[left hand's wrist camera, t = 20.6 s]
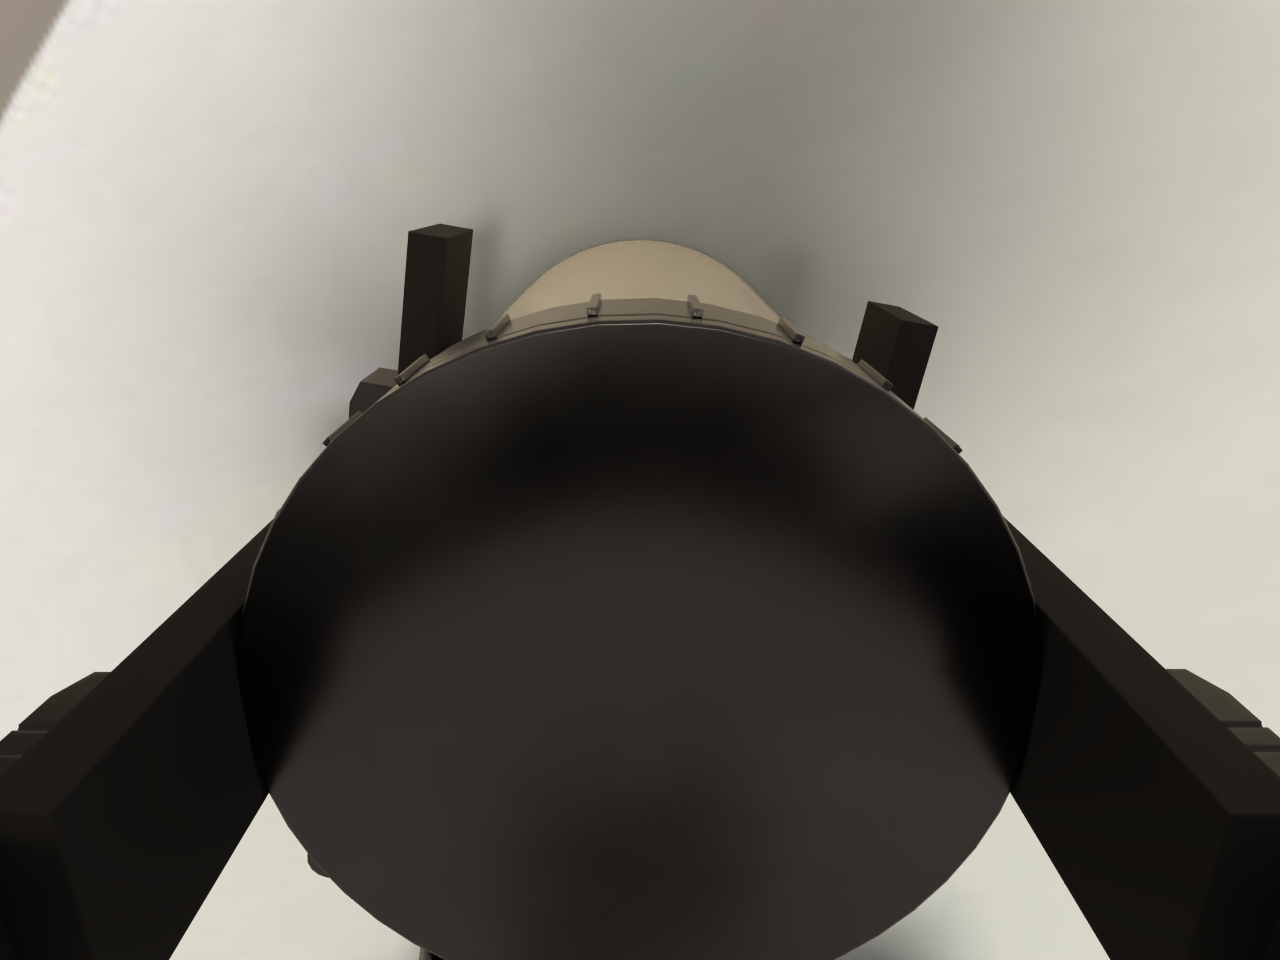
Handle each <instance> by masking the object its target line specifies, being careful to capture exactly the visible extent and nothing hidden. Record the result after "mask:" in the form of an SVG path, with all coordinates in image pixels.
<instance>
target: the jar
mask: <svg viewBox="0 0 1280 960" xmlns="http://www.w3.org/2000/svg"><path fill="white" fill-rule="evenodd" d="M598 293H601V298H602V299H638V298H660V299H669V300H679V301H687V299H688V295H689V294H690V295H696V296H697V298H698V300H699V302H700V303H706V304H712V305H716V306H720V307H724V308H728V309H732V310H736V311H740V312H744V313H748V314H752V315H756V316H760V317H763V318H765V319H768V320H770V321H773V322H775V323H778V321H779V319H780V317H779V316H778V315H777V314H776V313H775V312H774V311H773V310H772V309H771V308H770V307H769V306H768V305H767V304H766V303H765V302H764V301H763V300H762V299H761V298H760V297H759V296H758V294H757V293H756V292H755V291H754V290H753V289H752V288H751V287H749V286H748V285H747V284H746V283H745V282H744V281H743V280H742V279H741V278H740V277H739V276H738V275H737V274H735V273H734V272H733V271H731V270H730V269H728V268H727V267H726V266H724V265H723V264H722V263H720V262H718V261H716V260H714V259H712V258H710V257H709V256H707V255H705V254H703V253H700V252H697V251H695V250H692V249H689V248H687V247H684V246H680V245H675V244H671V243H666V242H660V241H648V240H633V241H619V242H614V243H609V244H603V245H599V246H596V247H593V248H590V249H587V250H584V251H581V252H579V253H577V254H575V255H573V256H571V257H569V258H567V259H565V260H563V261H561V262H560V263H558V264H557V265H555V266H554V267H553V268H551V269H550V270H548V271H547V272H545V273H544V274H543V275H542V276H541V277H540V278H539V279H537V280H536V281H535V282H534V283H533V284H532V285H531V286H530V287H529V288H528V289H527V290H526V291H525V292H524V293H523V294H522V295H521V296H520V297H519V298H518V299H517V300H516V301H515V302H514V303H513V304H512V305H511V306H510V307H509V308H508V309H507V310H506V311H505V312H504V313H503V314H502V315H505V314H508V315H509V317H510V320H512V319H515V318H518V317H522V316H525V315H528V314H532V313H535V312H538V311H542V310H545V309H548V308H552V307H558V306H565V305H571V304H577V303H583V302H590V299H591V297H592V294H598ZM502 315H501V316H502Z"/></svg>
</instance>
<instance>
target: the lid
mask: <svg viewBox="0 0 1280 960" xmlns="http://www.w3.org/2000/svg"><path fill="white" fill-rule="evenodd" d="M394 381H395V382H396V383H397V385H396V386H394V387H393V388H392V389H391V390H390V391H389V392H387V393H386V394H385V395H384V396H383V397H382V398H380V399H379V400H378V401H377V402H376V403H375V404H373V405H372V406H371V407H370V408H369V409H368V410H367V411H365V412H364V413H362V412H360V411H358V412H357V413H356V414H355V415H353V416H352V417H351V418H350V419H349V420H348V421H346V422H345V423H344V424H343V425H342V426H340V427H339V428H338V429H337V430H336V431H334V432H333V433H332V434H331V435H330V436H329V437H327V439H326V440H325V441H324V442H323V444H324V445H325V446H327V447H326V448H325V450H324V451H323V452H322V453H321V454H320V455H319V457H318V458H317V459H316V460H315V461H314V462H313V464H312V465H311V466H310V467H309V468H308V469H307V470H306V472H305V473H304V474H303V475H302V476H301V477H300V479H299V480H298V482H297V483H296V485H295V487H294V488H293V490H292V491H291V493H290V495H289V496H288V498H287V499H286V501H285V503H284V504H283V506H282V507H281V509H279V510H278V511H277V513H276V515H275V519H274V520H273V522H272V524H271V526H270V529H269V531H268V533H267V536H266V538H265V541H264V543H263V545H262V548H261V550H260V552H259V555H258V557H257V559H256V562H255V564H254V566H253V570H252V574H251V578H250V582H249V586H248V590H247V594H246V598H245V602H244V606H243V610H242V618H241V630H240V642H239V653H238V667H239V681H240V692H241V698H242V704H243V709H244V714H245V718H246V723H247V728H248V733H249V738H250V743H251V748H252V752H253V754H254V757H255V759H256V762H257V764H258V767H259V770H260V772H261V775H262V777H263V780H264V782H265V785H266V788H267V790H268V791H269V793H270V795H271V797H272V799H273V800H274V802H275V804H276V806H277V808H278V809H279V811H280V813H281V815H282V817H283V818H284V820H285V822H286V824H287V826H288V827H289V828H290V830H291V831H292V832H293V834H294V835H295V836H296V838H297V839H298V840H299V842H300V843H301V844H302V846H303V847H304V849H305V850H306V851H307V853H308V854H309V855H310V857H311V858H312V859H313V861H314V862H315V863H316V864H317V865H318V866H319V867H320V868H321V869H322V870H323V871H324V872H325V873H326V874H327V875H328V876H329V877H330V878H331V879H332V880H333V882H334V883H335V884H336V885H337V886H338V887H339V888H340V889H341V890H342V891H343V892H344V893H345V894H346V895H348V896H349V897H350V898H351V899H353V900H354V901H355V902H356V903H357V904H359V905H360V906H361V907H362V908H364V909H365V910H366V911H367V912H368V913H370V914H371V915H372V916H373V917H374V918H376V919H377V920H378V921H380V922H381V923H383V924H384V925H386V926H387V927H389V928H391V929H392V930H394V931H395V932H397V933H398V934H400V935H401V936H403V937H404V938H406V939H407V940H409V941H411V942H412V943H414V944H415V945H417V946H419V947H421V948H423V949H425V950H427V951H429V952H431V953H433V954H435V955H437V956H439V957H441V958H443V959H445V960H834V959H837V958H839V957H841V956H843V955H845V954H847V953H848V952H850V951H852V950H854V949H855V948H857V947H859V946H861V945H863V944H864V943H866V942H868V941H870V940H872V939H873V938H875V937H877V936H879V935H880V934H882V933H883V932H884V931H886V930H887V929H889V928H890V927H891V926H893V925H894V924H896V923H897V922H899V921H900V920H901V919H903V918H904V917H906V916H907V915H908V914H910V913H911V912H913V911H914V910H915V909H916V908H917V907H919V906H920V905H921V904H922V903H923V902H924V901H925V900H926V899H927V898H929V897H930V896H931V895H932V894H933V893H934V892H935V891H936V890H937V889H939V888H940V887H941V886H942V885H943V884H944V883H945V882H946V881H947V880H948V879H949V878H950V877H951V876H952V875H953V873H954V872H955V871H956V870H957V869H958V868H959V867H960V865H961V864H962V863H963V862H964V861H965V860H966V859H967V857H968V856H969V855H970V854H971V853H972V852H973V851H974V850H975V848H976V847H977V845H978V844H979V842H980V841H981V839H982V838H983V836H984V835H985V833H986V832H987V830H988V829H989V827H990V826H991V825H992V823H993V822H994V820H995V819H996V817H997V816H998V814H999V813H1000V811H1001V809H1002V807H1003V805H1004V803H1005V800H1006V798H1007V796H1008V794H1009V792H1010V790H1011V788H1012V786H1013V784H1014V782H1015V780H1016V778H1017V776H1018V774H1019V771H1020V768H1021V765H1022V762H1023V759H1024V756H1025V753H1026V750H1027V747H1028V744H1029V740H1030V735H1031V731H1032V725H1033V720H1034V715H1035V710H1036V704H1037V699H1038V694H1039V689H1040V636H1039V629H1038V622H1037V615H1036V608H1035V601H1034V595H1033V592H1032V589H1031V585H1030V582H1029V579H1028V576H1027V573H1026V569H1025V566H1024V563H1023V560H1022V556H1021V553H1020V550H1019V548H1018V546H1017V544H1016V542H1015V540H1014V538H1013V536H1012V534H1011V532H1010V530H1009V528H1008V524H1007V522H1006V520H1005V519H1004V518H1003V516H1002V514H1001V512H1000V510H999V508H998V506H997V504H996V503H995V501H994V500H993V499H992V497H991V496H990V494H989V493H988V492H987V490H986V489H985V487H984V486H983V484H982V483H981V482H980V480H979V479H978V477H977V476H976V475H975V473H974V472H973V470H972V469H971V468H970V466H969V465H968V463H967V462H966V461H965V460H964V459H963V458H962V457H961V456H960V455H959V453H960V452H961V451H962V449H961V448H960V447H959V445H958V444H956V443H955V442H954V441H953V440H952V439H951V438H949V437H948V436H947V435H946V434H945V433H944V432H942V431H941V430H940V429H939V428H938V427H936V426H935V425H934V424H933V423H932V422H931V421H929V420H928V419H927V418H924V419H923V418H922V417H920V416H919V415H918V414H917V413H916V412H915V411H914V410H913V409H911V408H910V407H909V406H908V405H907V404H906V403H904V402H903V401H902V400H901V399H900V398H899V397H898V396H896V395H895V394H894V393H893V392H892V391H891V388H892V387H893V384H892V383H890V382H889V381H888V380H887V379H886V378H884V377H883V376H882V375H881V374H880V373H878V372H877V371H876V370H875V369H874V368H872V367H871V366H870V365H869V364H868V363H866V362H865V361H863V360H862V359H861V360H860V362H859V363H858V364H856V363H854V362H853V361H852V360H850V359H848V358H847V357H845V356H843V355H841V354H840V353H838V352H836V351H834V350H833V349H831V348H829V347H827V346H826V345H824V344H822V343H820V342H818V341H817V340H815V339H813V338H811V337H810V336H808V335H806V334H803V333H801V332H800V331H799V330H798V329H797V328H796V327H795V326H794V325H793V324H792V323H791V322H790V321H789V320H788V319H785V318H782V317H780V319H779V321H778V323H775V322H773V321H770V320H768V319H765V318H763V317H760V316H756V315H752V314H748V313H744V312H740V311H736V310H732V309H728V308H724V307H720V306H716V305H712V304H706V303H700V302H699V300H698V298H697V296H696V295H690V294H689V295H688V299H687V301H679V300H669V299H660V298H638V299H602V298H601V293H598V294H592V297H591V299H590V302H583V303H577V304H571V305H565V306H558V307H552V308H548V309H545V310H542V311H538V312H535V313H532V314H528V315H525V316H522V317H518V318H515V319H512V320H510V317H509V315H508V314H505V315H502V316H500V317H499V318H498V319H497V320H496V321H495V322H494V323H493V324H492V325H491V326H490V327H489V328H488V329H486V330H484V331H482V332H480V333H477V334H475V335H473V336H471V337H469V338H466V339H464V340H462V341H460V342H458V343H456V344H454V345H452V346H451V347H449V348H447V349H446V350H444V351H443V352H441V353H440V354H438V355H437V356H435V357H433V358H432V359H430V360H429V358H428V357H427V355H426V354H424V355H423V356H421V357H420V358H419V359H417V360H416V361H415V362H414V363H413V364H411V365H410V366H409V367H408V368H407V369H405V370H404V371H403V372H402V373H401V374H399V375H398V376H397V377H396V378H395V379H394Z"/></svg>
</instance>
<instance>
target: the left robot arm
mask: <svg viewBox="0 0 1280 960" xmlns="http://www.w3.org/2000/svg"><path fill="white" fill-rule="evenodd" d="M1003 518H1004V517H1003ZM274 519H275V518H274ZM274 519H273V520H274ZM1004 519H1005V518H1004ZM273 520H272V521H271V522H270V523H269V524H268V525H267V526H266V527H264V528H263V529H262V530H261V531H260V532H259V533H258V534H257V535H256V536H255V537H254V538H253V539H252V540H251V541H250V542H249V543H247V544H246V545H245V546H244V547H243V548H242V549H241V550H240V551H239V552H238V553H237V554H236V555H235V556H234V557H233V558H232V559H230V560H229V561H228V562H227V563H226V564H225V565H224V566H223V567H222V568H221V569H220V570H219V571H218V572H217V573H216V574H215V575H214V576H212V577H211V578H210V579H209V580H208V581H207V582H206V583H205V584H204V585H203V586H202V587H201V588H200V589H199V590H198V591H197V592H195V593H194V594H193V595H192V596H191V597H190V598H189V599H188V600H187V601H186V602H185V603H184V604H183V605H182V606H181V607H180V608H179V609H177V610H176V611H175V612H174V613H173V614H172V615H171V616H170V617H169V618H168V619H167V620H166V621H165V622H164V623H163V624H162V625H160V626H159V627H158V628H157V629H156V630H155V631H154V632H153V633H152V634H151V635H150V636H149V637H148V638H147V639H146V640H145V641H143V642H142V643H141V644H140V645H139V646H138V647H137V648H136V649H135V650H134V651H133V652H132V653H131V654H130V655H129V656H128V657H127V658H125V659H124V660H123V661H122V662H121V663H120V664H119V665H118V666H117V667H116V668H115V669H114V670H113V671H112V672H94V673H92V674H90V675H89V676H87V677H85V678H83V679H81V680H80V681H78V682H76V683H74V684H72V685H71V686H69V687H67V688H65V689H63V690H62V691H60V692H58V693H56V694H54V695H53V696H51V697H50V698H49V699H47V700H46V701H45V702H44V703H43V704H42V705H41V706H40V707H38V708H37V709H36V710H35V711H34V712H33V713H32V714H31V715H29V716H28V717H27V718H26V719H25V720H24V721H23V722H22V723H20V724H19V728H18V731H11V732H10V733H9V734H8V735H7V736H6V737H5V738H3V739H2V740H1V741H0V960H169V959H170V957H171V955H172V954H173V952H174V950H175V949H176V947H177V945H178V944H179V942H180V940H181V939H182V937H183V935H184V934H185V932H186V930H187V929H188V927H189V925H190V924H191V922H192V920H193V919H194V917H195V915H196V914H197V912H198V910H199V909H200V907H201V905H202V904H203V902H204V900H205V899H206V897H207V895H208V894H209V892H210V890H211V889H212V887H213V885H214V884H215V882H216V880H217V879H218V877H219V875H220V874H221V872H222V870H223V869H224V867H225V865H226V864H227V862H228V860H229V859H230V857H231V855H232V854H233V852H234V850H235V849H236V847H237V845H238V844H239V842H240V840H241V839H242V837H243V835H244V834H245V832H246V830H247V829H248V827H249V825H250V824H251V822H252V820H253V819H254V817H255V815H256V814H257V812H258V810H259V809H260V807H261V805H262V804H263V802H264V800H265V799H266V797H267V795H268V793H269V791H268V790H267V788H266V785H265V782H264V780H263V777H262V775H261V772H260V770H259V767H258V764H257V762H256V759H255V757H254V754H253V752H252V748H251V743H250V738H249V733H248V728H247V723H246V718H245V714H244V709H243V704H242V698H241V692H240V681H239V667H238V653H239V642H240V630H241V618H242V610H243V606H244V602H245V598H246V594H247V590H248V586H249V582H250V578H251V574H252V570H253V566H254V564H255V562H256V559H257V557H258V555H259V552H260V550H261V548H262V545H263V543H264V541H265V538H266V536H267V533H268V531H269V529H270V526H271V524H272V522H273ZM1005 520H1006V522H1007V524H1008V528H1009V530H1010V532H1011V534H1012V536H1013V538H1014V540H1015V542H1016V544H1017V546H1018V548H1019V550H1020V553H1021V556H1022V560H1023V563H1024V566H1025V569H1026V573H1027V576H1028V579H1029V582H1030V585H1031V589H1032V592H1033V595H1034V601H1035V608H1036V615H1037V622H1038V629H1039V636H1040V689H1039V694H1038V699H1037V704H1036V710H1035V715H1034V720H1033V725H1032V731H1031V735H1030V740H1029V744H1028V747H1027V750H1026V753H1025V756H1024V759H1023V762H1022V765H1021V768H1020V771H1019V774H1018V776H1017V778H1016V780H1015V782H1014V784H1013V786H1012V788H1011V790H1010V793H1011V794H1012V796H1013V798H1014V799H1015V801H1016V803H1017V804H1018V806H1019V808H1020V809H1021V811H1022V813H1023V814H1024V816H1025V818H1026V819H1027V821H1028V823H1029V824H1030V826H1031V828H1032V829H1033V831H1034V833H1035V834H1036V836H1037V838H1038V839H1039V841H1040V843H1041V844H1042V846H1043V848H1044V849H1045V851H1046V853H1047V855H1048V856H1049V858H1050V860H1051V861H1052V863H1053V865H1054V866H1055V868H1056V870H1057V871H1058V873H1059V875H1060V876H1061V878H1062V880H1063V881H1064V883H1065V885H1066V886H1067V888H1068V890H1069V891H1070V893H1071V895H1072V896H1073V898H1074V900H1075V901H1076V903H1077V905H1078V906H1079V908H1080V910H1081V911H1082V913H1083V915H1084V916H1085V918H1086V920H1087V921H1088V923H1089V925H1090V926H1091V928H1092V930H1093V931H1094V933H1095V935H1096V936H1097V938H1098V940H1099V941H1100V943H1101V945H1102V946H1103V948H1104V950H1105V951H1106V953H1107V955H1108V956H1109V958H1110V960H1280V738H1279V737H1278V736H1277V735H1276V734H1275V733H1274V732H1273V731H1271V730H1270V729H1269V728H1263V727H1262V724H1261V723H1262V722H1261V721H1260V720H1259V719H1258V718H1257V717H1255V716H1254V715H1253V714H1252V713H1251V712H1250V711H1249V710H1248V709H1246V708H1245V707H1244V706H1243V705H1242V704H1241V703H1240V702H1238V701H1237V700H1236V699H1235V698H1234V697H1233V696H1232V695H1231V694H1229V693H1228V692H1226V691H1224V690H1222V689H1220V688H1219V687H1217V686H1215V685H1213V684H1211V683H1210V682H1208V681H1206V680H1204V679H1202V678H1200V677H1199V676H1197V675H1195V674H1193V673H1191V672H1190V671H1188V670H1186V669H1165V668H1164V667H1162V666H1161V665H1160V664H1159V663H1158V662H1157V661H1156V660H1155V659H1154V658H1153V657H1152V656H1151V655H1150V654H1149V653H1148V652H1147V651H1145V650H1144V649H1143V648H1142V647H1141V646H1140V645H1139V644H1138V643H1137V642H1136V641H1135V640H1134V639H1133V638H1132V637H1131V636H1130V635H1129V634H1127V633H1126V632H1125V631H1124V630H1123V629H1122V628H1121V627H1120V626H1119V625H1118V624H1117V623H1116V622H1115V621H1114V620H1113V619H1112V618H1110V617H1109V616H1108V615H1107V614H1106V613H1105V612H1104V611H1103V610H1102V609H1101V608H1100V607H1099V606H1098V605H1097V604H1096V603H1095V602H1094V601H1092V600H1091V599H1090V598H1089V597H1088V596H1087V595H1086V594H1085V593H1084V592H1083V591H1082V590H1081V589H1080V588H1079V587H1078V586H1077V585H1075V584H1074V583H1073V582H1072V581H1071V580H1070V579H1069V578H1068V577H1067V576H1066V575H1065V574H1064V573H1063V572H1062V571H1061V570H1060V569H1058V568H1057V567H1056V566H1055V565H1054V564H1053V563H1052V562H1051V561H1050V560H1049V559H1048V558H1047V557H1046V556H1045V555H1044V554H1043V553H1042V552H1040V551H1039V550H1038V549H1037V548H1036V547H1035V546H1034V545H1033V544H1032V543H1031V542H1030V541H1029V540H1028V539H1027V538H1026V537H1025V536H1023V535H1022V534H1021V533H1020V532H1019V531H1018V530H1017V529H1016V528H1015V527H1014V526H1013V525H1012V524H1011V523H1010V522H1009V521H1008V520H1007V519H1005Z"/></svg>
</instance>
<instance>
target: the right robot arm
mask: <svg viewBox="0 0 1280 960" xmlns="http://www.w3.org/2000/svg"><path fill="white" fill-rule="evenodd" d="M472 236H473V230H472V229H467V228H461V227H456V226H450V225H444V224H437V225H433V226H429V227H425V228H421V229H417V230H413V231H409V232H408V246H407V259H406V273H405V286H404V299H403V313H402V326H401V339H400V353H399V366H398V371H397V370H391V369H385V368H378V369H377V370H376V371H374V372H373V373H372V374H370V375H369V376H368V377H366V378H365V379H363V380H362V381H361V382H360V383H359V385H358V387H357V389H356V391H355V393H354V395H353V397H352V399H351V401H350V408H349V419H350V418H351V417H352V416H353V415H355V414H356V413H357V412H358V411H360V412H362V413H364V412H365V411H367V410H368V409H369V408H370V407H371V406H372V405H373V404H375V403H376V402H377V401H378V400H379V399H380V398H382V397H383V396H384V395H385V394H386V393H387V392H389V391H390V390H391V389H392V388H393V387H394V386H396V385H397V383H396V382H395V381H394V379H395V378H396V377H397V376H398V375H399V374H401V373H402V372H403V371H404V370H405V369H407V368H408V367H409V366H410V365H411V364H413V363H414V362H415V361H416V360H417V359H419V358H420V357H421V356H423V355H424V354H426V355H427V357H428V358H429V360H430V359H432V358H433V357H435V356H437V355H438V354H440V353H441V352H443V351H444V350H446V349H447V348H449V347H451V346H452V345H454V344H456V343H458V342H460V341H462V335H463V325H464V315H465V305H466V295H467V285H468V275H469V265H470V255H471V246H472ZM937 330H938V326H936V325H934V324H932V323H930V322H928V321H926V320H924V319H922V318H920V317H918V316H916V315H914V314H912V313H910V312H908V311H907V310H905V309H903V308H901V307H898V306H892V305H887V304H881V303H876V302H870V301H868V303H867V307H866V311H865V315H864V318H863V322H862V326H861V330H860V333H859V337H858V341H857V344H856V348H855V352H854V356H853V359H852V361H853V362H854V363H856V364H858V363H859V362H860V360H861V359H862V360H863V361H865V362H866V363H868V364H869V365H870V366H871V367H872V368H874V369H875V370H876V371H877V372H878V373H880V374H881V375H882V376H883V377H884V378H886V379H887V380H888V381H889V382H890V383H892V384H893V387H892V388H891V391H892V392H893V393H894V394H895V395H896V396H898V397H899V398H900V399H901V400H902V401H903V402H904V403H906V404H907V405H908V406H909V407H910V408H911V409H914V406H915V403H916V400H917V396H918V393H919V390H920V386H921V383H922V380H923V376H924V373H925V370H926V366H927V363H928V360H929V356H930V353H931V350H932V346H933V343H934V340H935V336H936V333H937ZM307 856H308V863H309V865H310V867H311V869H312V870H314V871H315V872H316V873H317V874H319V875H322V876H324V877H328V878H330V877H329V876H328V875H327V874H326V873H325V872H324V871H323V870H322V869H321V868H320V867H319V866H318V865H317V864H316V863H315V862H314V861H313V859H312V858H311V857H310V855H309V854H308V855H307ZM419 960H445V959H443V958H441V957H439V956H437V955H435V954H433V953H431V952H429V951H427V950H425V949H423V948H421V947H420V956H419Z"/></svg>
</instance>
